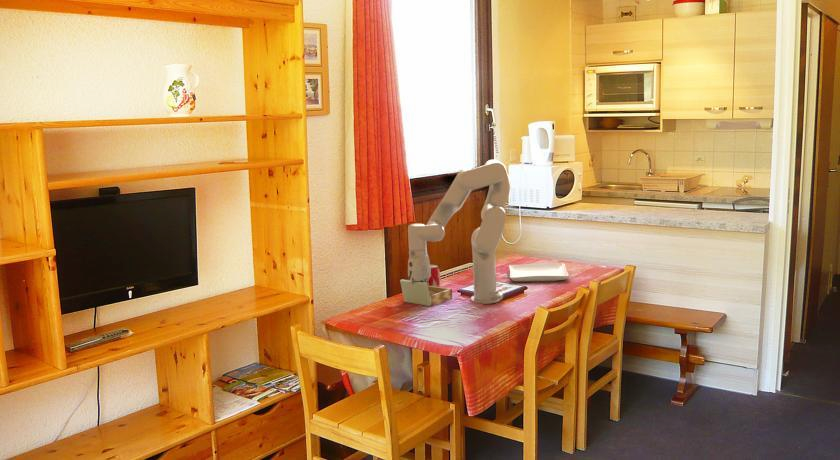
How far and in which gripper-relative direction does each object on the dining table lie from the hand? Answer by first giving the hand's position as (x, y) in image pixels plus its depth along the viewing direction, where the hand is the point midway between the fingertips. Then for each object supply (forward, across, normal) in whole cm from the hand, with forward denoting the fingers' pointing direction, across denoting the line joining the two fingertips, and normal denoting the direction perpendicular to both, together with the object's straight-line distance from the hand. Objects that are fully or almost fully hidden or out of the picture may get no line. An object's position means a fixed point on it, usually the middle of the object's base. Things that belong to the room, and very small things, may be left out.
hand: (420, 295), depth 326 cm
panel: (+3, -2, 0) cm, 4 cm away
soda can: (+4, +19, +9) cm, 22 cm away
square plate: (+4, +68, -15) cm, 70 cm away
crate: (+4, +5, 0) cm, 7 cm away
